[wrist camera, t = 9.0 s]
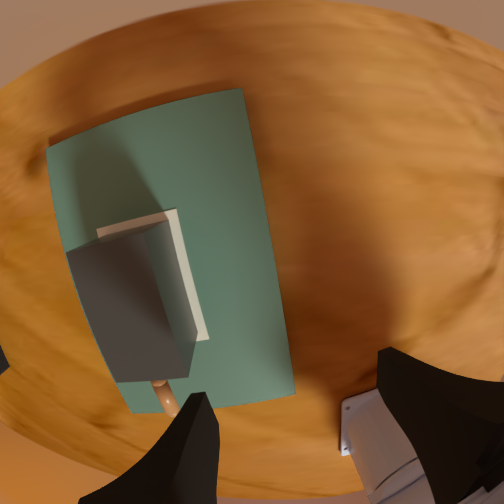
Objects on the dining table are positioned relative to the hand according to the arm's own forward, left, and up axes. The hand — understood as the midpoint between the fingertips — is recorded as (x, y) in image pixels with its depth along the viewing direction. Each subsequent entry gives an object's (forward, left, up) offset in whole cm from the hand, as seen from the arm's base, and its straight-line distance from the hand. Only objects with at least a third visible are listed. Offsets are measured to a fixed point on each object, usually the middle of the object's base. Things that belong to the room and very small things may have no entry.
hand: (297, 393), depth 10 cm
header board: (+3, +6, -9) cm, 12 cm away
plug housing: (+1, +7, -8) cm, 11 cm away
